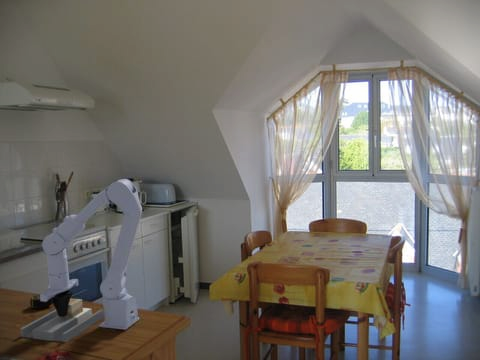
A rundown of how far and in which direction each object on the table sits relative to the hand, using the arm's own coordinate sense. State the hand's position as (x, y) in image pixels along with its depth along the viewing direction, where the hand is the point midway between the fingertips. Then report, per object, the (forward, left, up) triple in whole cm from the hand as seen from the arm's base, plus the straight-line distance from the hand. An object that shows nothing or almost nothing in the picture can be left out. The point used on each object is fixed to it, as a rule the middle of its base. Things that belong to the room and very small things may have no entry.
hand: (62, 315), depth 144 cm
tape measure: (+20, -14, -4) cm, 24 cm away
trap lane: (0, 0, -3) cm, 4 cm away
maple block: (0, -4, -1) cm, 4 cm away
